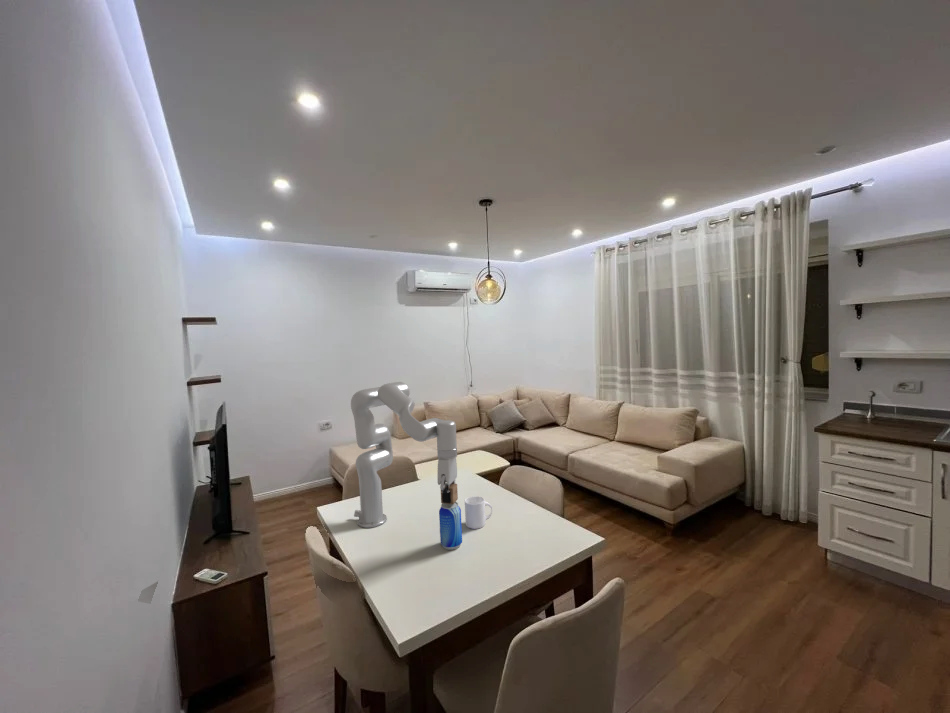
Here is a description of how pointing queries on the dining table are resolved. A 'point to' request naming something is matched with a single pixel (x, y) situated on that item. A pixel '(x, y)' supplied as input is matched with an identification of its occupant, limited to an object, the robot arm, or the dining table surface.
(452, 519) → the beer can
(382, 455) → the robot arm
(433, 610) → the dining table surface
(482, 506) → the mug
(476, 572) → the dining table surface
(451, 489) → the walnut block
